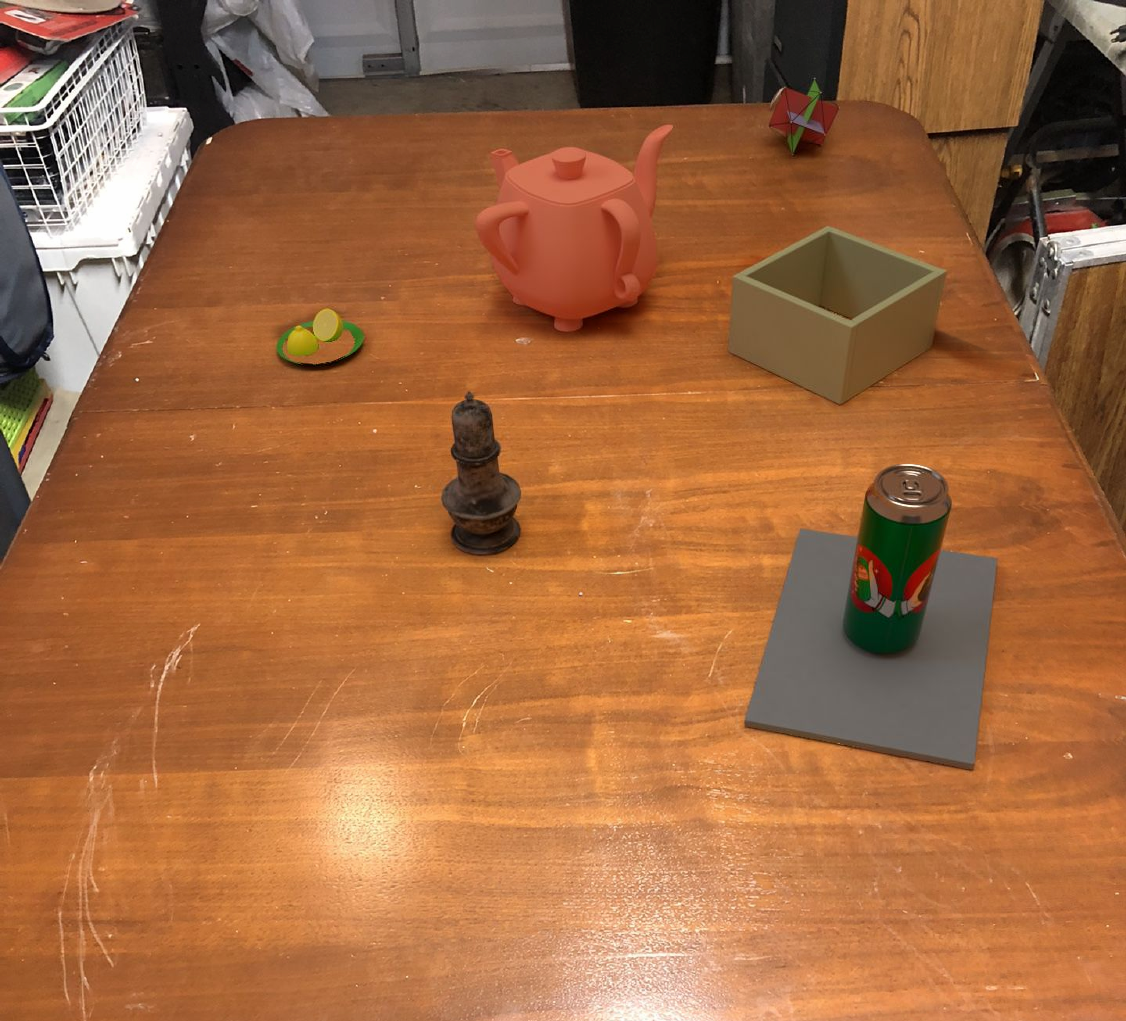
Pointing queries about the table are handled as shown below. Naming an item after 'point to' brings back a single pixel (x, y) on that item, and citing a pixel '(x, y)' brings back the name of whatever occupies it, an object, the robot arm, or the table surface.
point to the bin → (846, 286)
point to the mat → (876, 661)
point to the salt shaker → (479, 484)
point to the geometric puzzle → (802, 115)
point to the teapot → (574, 230)
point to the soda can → (896, 558)
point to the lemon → (317, 334)
